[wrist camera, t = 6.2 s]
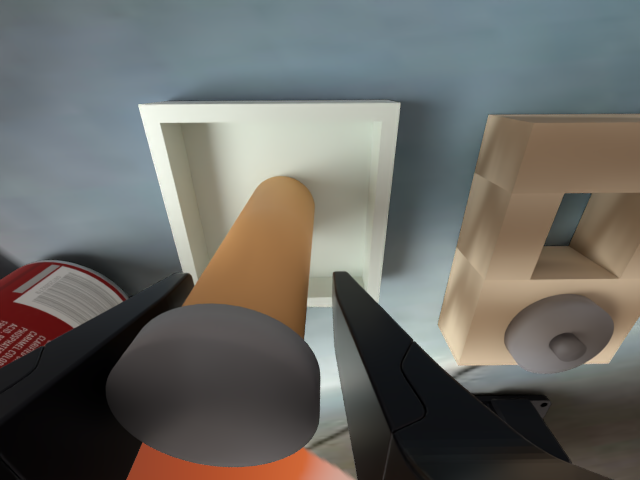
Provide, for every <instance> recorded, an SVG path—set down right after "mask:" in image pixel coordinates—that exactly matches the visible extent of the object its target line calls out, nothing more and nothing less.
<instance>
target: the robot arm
mask: <svg viewBox="0 0 640 480" xmlns="http://www.w3.org/2000/svg"><path fill="white" fill-rule="evenodd" d="M194 286H195V285H194V282H193V278H192V275H191V274H189V273H175V274H173V275H171V276H169V277H167V278H165V279H164V280H162V281H160V282H158V283H156V284H154V285H153V286H151V287H149V288H147V289H145V290H143V291H142V292H140V293H138V294H136V295H134V296H132V297H131V298H129V299H127V300H125V301H123V302H121V303H120V304H118V305H116V306H114V307H112V308H110V309H109V310H107V311H105V312H103V313H101V314H99V315H98V316H96V317H94V318H92V319H90V320H88V321H87V322H85V323H83V324H81V325H79V326H77V327H76V328H74V329H72V330H70V331H68V332H66V333H65V334H63V335H61V336H59V337H57V338H55V339H54V340H52V341H50V342H48V343H46V344H45V346H40V347H39V348H37V349H35V350H33V351H31V352H30V353H28V354H26V355H24V356H22V357H20V358H18V359H17V360H15V361H13V362H11V363H9V364H7V365H5V366H3V367H1V368H0V480H126V479H127V477H128V475H129V472H130V470H131V468H132V465H133V463H134V461H135V458H136V456H137V454H138V451H139V449H140V447H141V444H142V442H141V441H140V440H138V439H137V438H136V437H134V436H133V435H132V434H130V433H129V432H128V431H127V430H126V429H125V428H124V427H123V426H122V425H121V424H120V423H119V422H118V421H117V419H116V418H115V416H114V415H113V413H112V412H111V410H110V408H109V405H108V402H107V398H106V383H107V378H108V376H109V374H110V372H111V370H112V369H113V367H114V366H115V365H116V363H117V362H118V361H119V359H120V358H121V357H122V355H123V354H124V352H125V351H126V350H127V348H128V347H129V346H130V344H131V343H132V342H133V340H134V339H135V337H136V336H137V335H138V333H139V332H140V331H141V330H142V328H143V327H144V326H145V325H146V324H147V323H148V322H150V321H151V320H152V319H154V318H155V317H157V316H159V315H160V314H162V313H165V312H167V311H169V310H172V309H175V308H179V307H182V305H183V303H184V302H185V300H186V299H187V297H188V296H189V294H190V292H191V291H192V289H193V288H194ZM332 308H333V331H334V347H335V354H336V360H337V366H338V371H339V377H340V383H341V389H342V394H343V400H344V406H345V411H346V417H347V423H348V428H349V434H350V440H351V446H352V451H353V457H354V463H355V468H356V474H357V480H613V479H610V478H608V477H605V476H602V475H600V474H597V473H594V472H592V471H589V470H586V469H584V468H581V467H578V466H576V465H573V464H572V462H571V460H570V459H569V457H568V456H567V454H566V453H565V451H564V450H563V448H562V447H561V445H560V444H559V443H558V441H557V440H556V438H555V437H554V435H553V434H552V432H551V431H550V429H549V428H548V426H547V425H546V423H545V422H544V420H543V418H544V416H545V414H546V412H547V411H548V409H549V407H550V405H551V402H550V400H549V399H548V397H547V396H545V395H525V396H474V395H473V394H471V393H470V392H469V391H468V390H467V389H465V388H464V387H463V386H462V385H461V384H460V383H458V382H457V381H456V380H455V379H454V378H453V377H452V376H450V375H449V374H448V373H447V372H446V371H445V370H444V369H443V368H441V367H440V366H439V365H438V364H437V363H436V362H435V361H434V360H433V359H432V358H431V357H430V356H429V355H428V354H427V353H426V352H425V351H424V350H423V349H422V348H421V347H420V346H419V345H418V344H417V343H416V342H415V341H414V342H413V339H412V338H411V337H410V336H409V335H408V334H407V333H406V332H405V331H404V330H403V329H402V328H401V327H400V326H399V325H398V324H397V323H396V321H395V320H394V319H393V318H392V317H391V316H390V315H389V314H388V313H387V312H386V311H385V310H384V309H383V308H382V307H381V306H380V305H379V304H378V303H377V302H376V301H375V300H374V299H373V298H372V297H371V296H370V295H369V294H368V293H367V292H366V291H365V290H364V289H363V288H362V287H361V286H360V284H359V283H358V282H357V281H356V280H355V279H354V278H353V277H352V276H351V275H350V274H349V273H348V272H346V271H334V272H333V275H332Z"/></svg>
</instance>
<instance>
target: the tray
mask: <svg viewBox="0 0 640 480" xmlns="http://www.w3.org/2000/svg"><path fill="white" fill-rule="evenodd" d="M400 104H401V103H399V102H394V101H390V100H281V101H164V102H156V103H147V104H139V105H138V106H139V110H140V113H141V117H142V121H143V125H144V128H145V132H146V136H147V140H148V143H149V147H150V151H151V155H152V158H153V162H154V166H155V170H156V173H157V177H158V181H159V185H160V188H161V192H162V196H163V200H164V203H165V207H166V211H167V215H168V218H169V222H170V226H171V230H172V233H173V237H174V241H175V245H176V248H177V252H178V256H179V260H180V263H181V267H182V271H183V273H189V274H191V275H192V278H193V282H194V285H195V284H196V283H197V281H198V280H199V278H200V276H201V275H202V273H203V272H204V270H205V269H206V267H207V265H208V264H209V262H210V261H211V259H212V257H213V256H214V254H215V253H216V251H217V250H218V248H219V246H220V245H221V243H222V242H223V240H224V238H225V237H226V235H227V234H228V232H229V231H230V229H231V227H232V226H233V224H234V223H235V221H236V219H237V218H238V216H239V215H240V213H241V211H242V210H243V208H244V207H245V205H246V204H247V202H248V200H249V199H250V197H251V196H252V194H253V192H254V191H255V189H256V188H257V187H258V185H260V184H261V183H262V182H263V181H265V180H267V179H269V178H272V177H276V176H286V177H290V178H293V179H296V180H298V181H299V182H301V183H302V184H304V185H305V186H306V187H307V188H308V190H309V191H310V193H311V194H312V197H313V199H314V203H315V213H314V225H313V237H312V249H311V261H310V273H309V285H308V297H307V307H332V275H333V272H334V271H346V272H348V273H349V274H350V275H351V276H352V277H353V278H354V279H355V280H356V281H357V282H358V283H359V284H360V286H361V287H362V288H363V289H364V290H365V291H366V292H367V293H368V294H369V295H370V296H371V297H372V298H373V299H374V300H375V301H376V302H377V303H378V302H379V293H380V284H381V275H382V266H383V257H384V248H385V239H386V230H387V221H388V212H389V203H390V194H391V185H392V176H393V167H394V158H395V149H396V140H397V131H398V122H399V113H400Z"/></svg>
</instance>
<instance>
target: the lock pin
mask: <svg viewBox="0 0 640 480" xmlns="http://www.w3.org/2000/svg"><path fill="white" fill-rule="evenodd" d="M314 213H315V203H314V199H313V197H312V194H311V193H310V191H309V190H308V188H307V187H306V186H305V185H304V184H302V183H301V182H299V181H298V180H296V179H293V178H290V177H286V176H276V177H272V178H269V179H267V180H265V181H263V182H262V183H261V184H260V185H258V187H257V188H256V189H255V191H254V192H253V194H252V196H251V197H250V199H249V200H248V202H247V204H246V205H245V207H244V208H243V210H242V211H241V213H240V215H239V216H238V218H237V219H236V221H235V223H234V224H233V226H232V227H231V229H230V231H229V232H228V234H227V235H226V237H225V238H224V240H223V242H222V243H221V245H220V246H219V248H218V250H217V251H216V253H215V254H214V256H213V257H212V259H211V261H210V262H209V264H208V265H207V267H206V269H205V270H204V272H203V273H202V275H201V276H200V278H199V280H198V281H197V283H196V284H195V286H194V288H193V289H192V291H191V292H190V294H189V296H188V297H187V299H186V300H185V302H184V303H183V305H182V307H179V308H175V309H172V310H169V311H167V312H165V313H162V314H160V315H159V316H157V317H155V318H154V319H152V320H151V321H150V322H148V323H147V324H146V325H145V326H144V327H143V328H142V330H141V331H140V332H139V333H138V335H137V336H136V337H135V339H134V340H133V342H132V343H131V344H130V346H129V347H128V348H127V350H126V351H125V352H124V354H123V355H122V357H121V358H120V359H119V361H118V362H117V363H116V365H115V366H114V367H113V369H112V370H111V372H110V374H109V376H108V378H107V383H106V398H107V402H108V405H109V408H110V410H111V412H112V413H113V415H114V416H115V418H116V419H117V421H118V422H119V423H120V424H121V425H122V426H123V427H124V428H125V429H126V430H127V431H128V432H129V433H130V434H132V435H133V436H134V437H136V438H137V439H138V440H140V441H141V442H143V443H145V444H146V445H148V446H150V447H152V448H154V449H156V450H158V451H160V452H162V453H165V454H167V455H170V456H172V457H176V458H179V459H182V460H185V461H189V462H193V463H198V464H204V465H211V466H220V467H245V466H256V465H262V464H267V463H271V462H274V461H277V460H280V459H283V458H285V457H287V456H290V455H292V454H294V453H295V452H297V451H298V450H300V449H301V448H302V447H304V446H305V445H306V444H307V443H308V442H309V441H310V440H311V439H312V437H313V436H314V434H315V432H316V430H317V427H318V424H319V417H320V368H319V365H318V362H317V359H316V357H315V355H314V353H313V351H312V350H311V348H310V347H309V346H308V344H307V343H306V342H305V341H304V334H305V322H306V309H307V297H308V285H309V273H310V261H311V249H312V237H313V225H314Z"/></svg>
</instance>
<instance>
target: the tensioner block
mask: <svg viewBox="0 0 640 480" xmlns="http://www.w3.org/2000/svg"><path fill="white" fill-rule="evenodd" d="M564 193H592V195H591V197H590V199H589V201H588V204H587V206H586V208H585V210H584V213H583V215H582V217H581V219H580V222H579V224H578V226H577V228H576V231H575V233H574V235H573V237H572V240H571V242H570V244H569V246H544V243H545V241H546V238H547V236H548V233H549V231H550V228H551V226H552V223H553V221H554V218H555V216H556V213H557V211H558V208H559V206H560V203H561V201H562V198H563V196H564ZM639 316H640V114H518V115H488V119H487V123H486V127H485V131H484V135H483V139H482V144H481V148H480V152H479V156H478V160H477V164H476V168H475V172H474V177H473V181H472V185H471V189H470V193H469V197H468V201H467V206H466V210H465V214H464V218H463V222H462V226H461V230H460V234H459V239H458V243H457V247H456V251H455V255H454V259H453V263H452V268H451V272H450V276H449V280H448V284H447V288H446V292H445V296H444V301H443V305H442V309H441V313H440V317H439V321H438V326H439V328H440V330H441V332H442V334H443V336H444V338H445V340H446V342H447V344H448V346H449V348H450V350H451V352H452V354H453V356H454V358H455V360H456V362H457V364H458V366H459V365H519V366H520V367H521V368H523V369H525V370H527V371H529V372H533V373H539V374H552V373H559V372H563V371H567V370H570V369H573V368H575V367H578V366H580V365H582V364H608V363H609V362H610V360H611V359H612V357H613V356H614V354H615V353H616V351H617V350H618V348H619V347H620V345H621V344H622V342H623V341H624V339H625V338H626V336H627V334H628V333H629V331H630V330H631V328H632V327H633V325H634V324H635V322H636V321H637V319H638V318H639Z"/></svg>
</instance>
